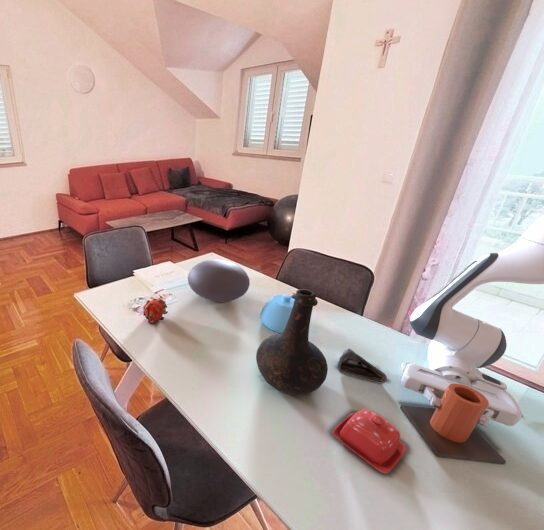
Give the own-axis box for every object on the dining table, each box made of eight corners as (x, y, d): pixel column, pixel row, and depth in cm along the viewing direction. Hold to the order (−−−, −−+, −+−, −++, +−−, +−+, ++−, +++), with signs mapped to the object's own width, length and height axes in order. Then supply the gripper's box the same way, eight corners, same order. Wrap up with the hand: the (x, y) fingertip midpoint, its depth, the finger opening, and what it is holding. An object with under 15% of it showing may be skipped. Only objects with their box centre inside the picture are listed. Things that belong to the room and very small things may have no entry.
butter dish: (408, 451, 69) (421, 423, 65) (384, 480, 63) (398, 452, 60) (353, 414, 78) (362, 388, 74) (327, 437, 72) (336, 410, 68)
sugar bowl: (252, 325, 112) (257, 297, 108) (268, 308, 123) (273, 282, 118) (296, 342, 103) (303, 312, 99) (309, 322, 114) (316, 294, 109)
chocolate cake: (382, 370, 92) (356, 335, 94) (390, 380, 86) (361, 343, 87) (350, 383, 96) (326, 349, 98) (355, 394, 89) (329, 358, 91)
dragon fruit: (163, 313, 122) (150, 334, 113) (146, 299, 122) (132, 318, 113) (175, 302, 117) (163, 323, 108) (157, 288, 117) (144, 307, 108)
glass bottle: (285, 414, 77) (309, 320, 66) (240, 367, 93) (253, 283, 81) (337, 394, 84) (367, 303, 72) (286, 352, 99) (305, 272, 87)
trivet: (456, 413, 78) (458, 410, 77) (504, 464, 66) (506, 461, 66) (399, 407, 79) (401, 404, 79) (436, 456, 68) (438, 453, 67)
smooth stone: (238, 318, 117) (243, 282, 111) (177, 300, 128) (178, 267, 122) (253, 290, 136) (258, 259, 130) (199, 277, 148) (201, 248, 142)
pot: (456, 421, 74) (475, 386, 70) (473, 445, 69) (496, 409, 64) (424, 415, 76) (441, 381, 72) (439, 438, 70) (459, 402, 66)
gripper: (405, 351, 84) (405, 381, 74) (516, 386, 73) (533, 428, 62) (397, 369, 86) (396, 401, 76) (503, 406, 75) (518, 449, 65)
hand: (459, 413), depth 69 cm, fingers closed on pot, 6 cm apart
